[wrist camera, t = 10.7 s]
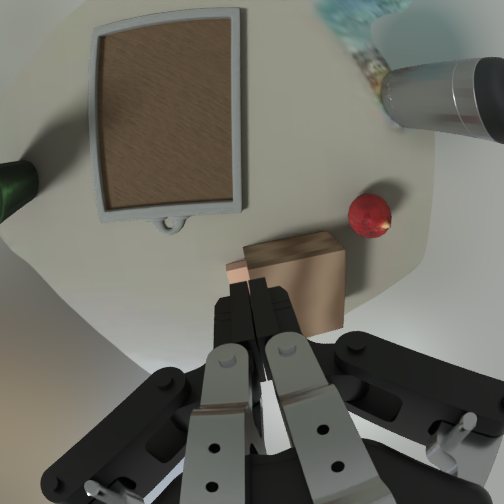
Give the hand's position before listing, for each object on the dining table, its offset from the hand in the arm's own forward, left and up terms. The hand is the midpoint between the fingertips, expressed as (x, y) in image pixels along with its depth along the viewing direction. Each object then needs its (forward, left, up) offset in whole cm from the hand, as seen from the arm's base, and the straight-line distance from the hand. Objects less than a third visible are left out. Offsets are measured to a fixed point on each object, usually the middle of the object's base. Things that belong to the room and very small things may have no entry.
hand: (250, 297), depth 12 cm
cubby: (-6, +15, -24) cm, 29 cm away
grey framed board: (+6, -10, -25) cm, 28 cm away
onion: (-17, +6, -25) cm, 31 cm away
